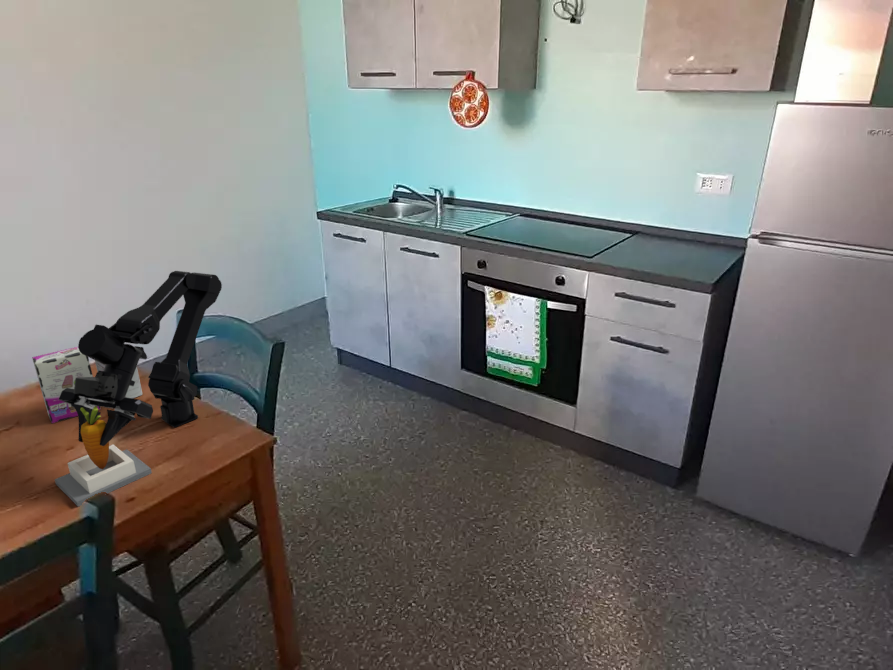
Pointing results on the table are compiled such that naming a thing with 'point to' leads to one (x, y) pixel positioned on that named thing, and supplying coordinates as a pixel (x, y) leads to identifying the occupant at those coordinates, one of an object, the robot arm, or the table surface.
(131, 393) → the supplement box
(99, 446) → the carrot
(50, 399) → the candy bar box
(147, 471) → the socket
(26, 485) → the table surface
